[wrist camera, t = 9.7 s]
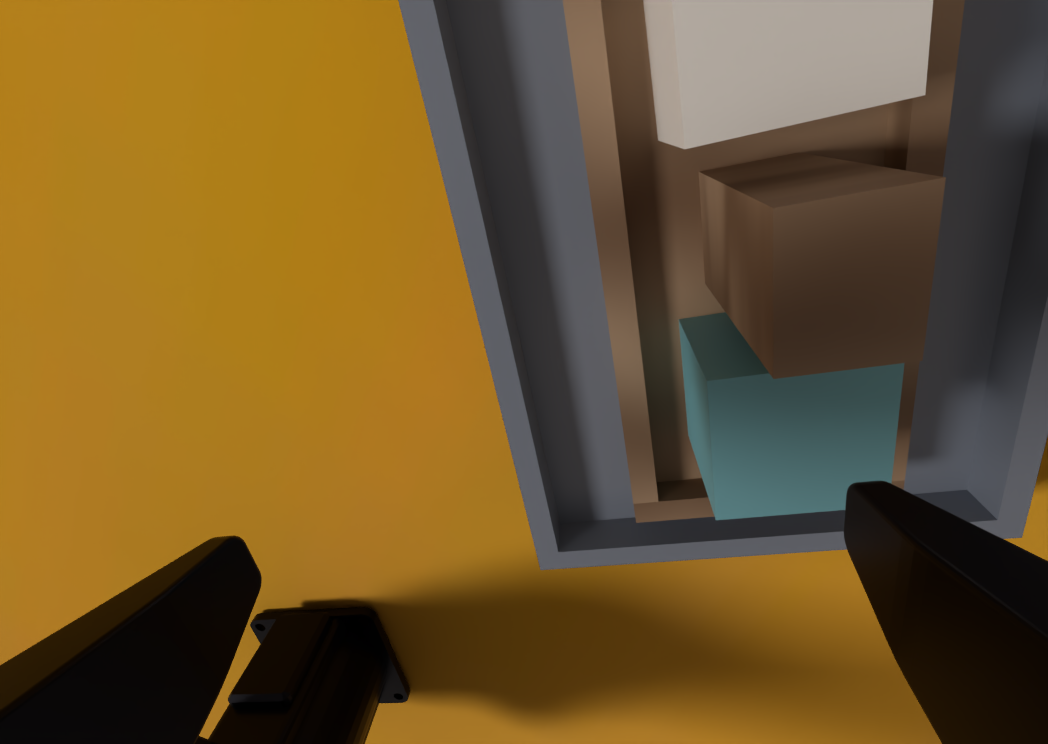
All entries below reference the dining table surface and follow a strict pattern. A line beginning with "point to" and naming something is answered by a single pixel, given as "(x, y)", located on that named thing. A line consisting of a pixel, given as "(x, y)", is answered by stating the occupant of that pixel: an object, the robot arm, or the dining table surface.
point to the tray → (580, 312)
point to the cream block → (779, 62)
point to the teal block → (782, 426)
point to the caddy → (754, 239)
